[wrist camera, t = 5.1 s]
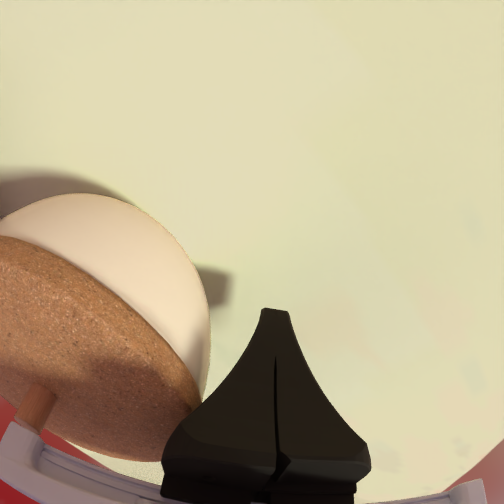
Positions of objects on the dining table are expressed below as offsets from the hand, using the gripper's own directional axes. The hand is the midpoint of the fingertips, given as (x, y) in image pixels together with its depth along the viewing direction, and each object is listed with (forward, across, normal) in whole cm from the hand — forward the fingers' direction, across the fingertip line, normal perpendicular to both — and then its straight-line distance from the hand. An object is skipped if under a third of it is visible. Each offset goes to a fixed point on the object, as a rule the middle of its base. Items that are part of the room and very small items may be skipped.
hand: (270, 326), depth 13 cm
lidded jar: (+3, +7, 0) cm, 8 cm away
